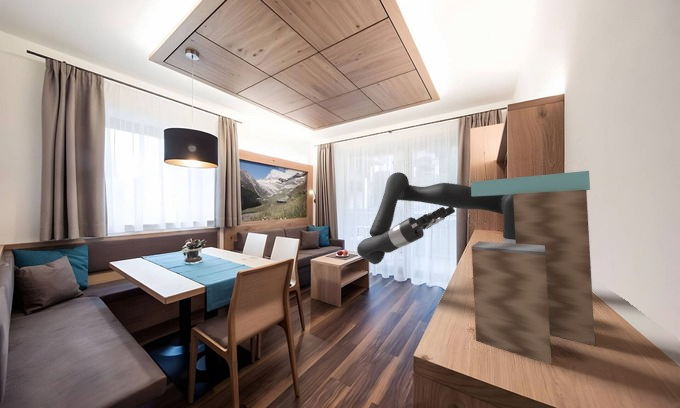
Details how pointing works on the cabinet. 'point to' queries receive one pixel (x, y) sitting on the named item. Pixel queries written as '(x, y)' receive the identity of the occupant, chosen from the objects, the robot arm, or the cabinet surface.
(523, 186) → the batten
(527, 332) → the brown wooden block
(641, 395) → the cabinet surface
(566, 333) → the stand
